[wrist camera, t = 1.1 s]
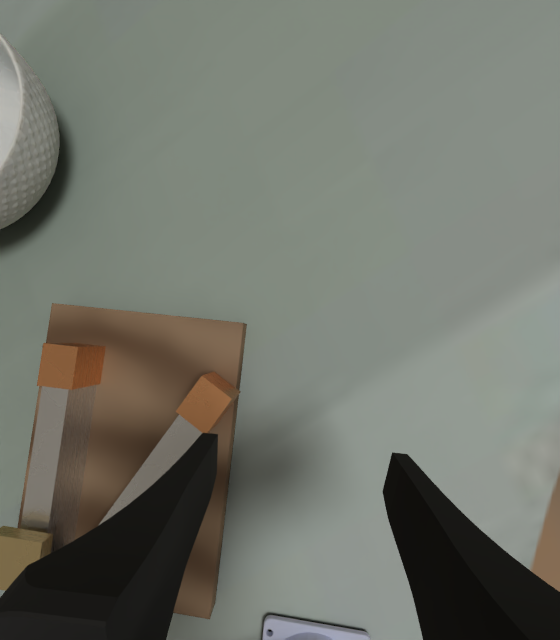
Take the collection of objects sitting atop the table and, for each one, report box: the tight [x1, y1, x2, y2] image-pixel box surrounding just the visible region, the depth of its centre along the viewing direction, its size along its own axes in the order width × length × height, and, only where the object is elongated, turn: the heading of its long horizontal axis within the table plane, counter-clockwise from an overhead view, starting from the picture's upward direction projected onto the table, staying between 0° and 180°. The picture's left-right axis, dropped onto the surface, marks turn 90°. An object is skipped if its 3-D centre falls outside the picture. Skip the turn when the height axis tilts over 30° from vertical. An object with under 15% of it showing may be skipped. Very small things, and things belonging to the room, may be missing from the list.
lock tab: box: [0, 526, 53, 590], centre depth 20 cm, size 3×4×1 cm
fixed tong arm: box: [20, 343, 106, 553], centre depth 23 cm, size 19×7×3 cm, turn 174°
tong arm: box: [99, 372, 240, 525], centre depth 22 cm, size 18×3×3 cm, turn 144°
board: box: [18, 303, 247, 619], centre depth 25 cm, size 22×16×2 cm
